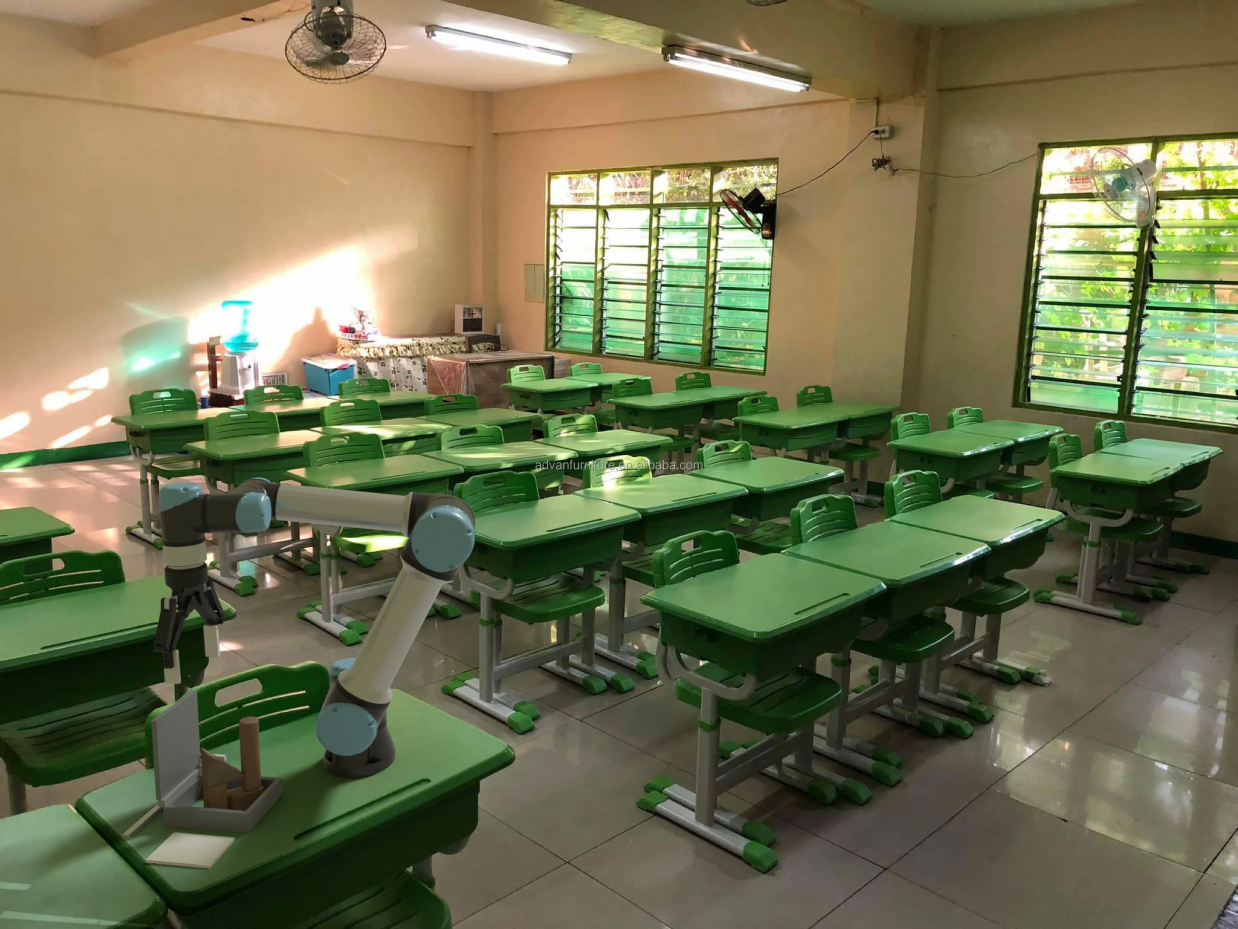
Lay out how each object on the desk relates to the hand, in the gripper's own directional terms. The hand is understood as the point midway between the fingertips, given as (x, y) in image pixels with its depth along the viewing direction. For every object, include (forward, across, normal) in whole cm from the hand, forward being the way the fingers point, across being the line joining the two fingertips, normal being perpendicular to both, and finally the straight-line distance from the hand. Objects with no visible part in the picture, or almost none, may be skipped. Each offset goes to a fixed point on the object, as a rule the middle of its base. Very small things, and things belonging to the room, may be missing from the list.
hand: (193, 669), depth 185 cm
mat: (+28, +16, +7) cm, 33 cm away
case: (+28, +2, +6) cm, 29 cm away
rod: (+28, +8, -7) cm, 30 cm away
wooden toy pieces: (+29, +1, +7) cm, 30 cm away
